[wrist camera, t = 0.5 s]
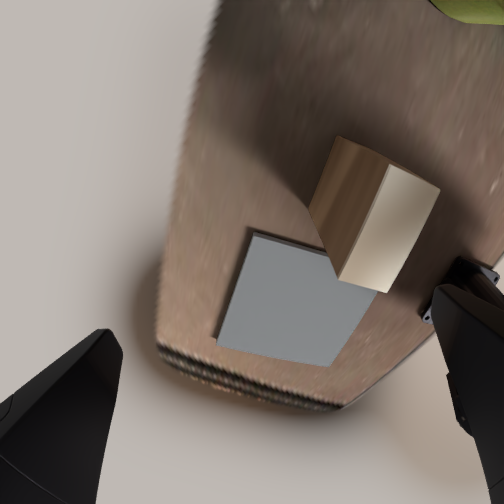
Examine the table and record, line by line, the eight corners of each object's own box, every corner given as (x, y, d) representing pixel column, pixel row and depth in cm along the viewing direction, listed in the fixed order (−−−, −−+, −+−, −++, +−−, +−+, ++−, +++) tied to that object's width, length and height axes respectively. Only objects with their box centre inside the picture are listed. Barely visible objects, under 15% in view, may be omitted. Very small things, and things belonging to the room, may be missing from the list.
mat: (384, 270, 21) (387, 274, 21) (327, 362, 26) (328, 367, 25) (253, 231, 20) (253, 235, 20) (216, 340, 25) (215, 345, 24)
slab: (372, 149, 17) (440, 189, 10) (343, 220, 20) (386, 293, 13) (336, 134, 17) (391, 165, 10) (307, 209, 19) (338, 279, 12)
